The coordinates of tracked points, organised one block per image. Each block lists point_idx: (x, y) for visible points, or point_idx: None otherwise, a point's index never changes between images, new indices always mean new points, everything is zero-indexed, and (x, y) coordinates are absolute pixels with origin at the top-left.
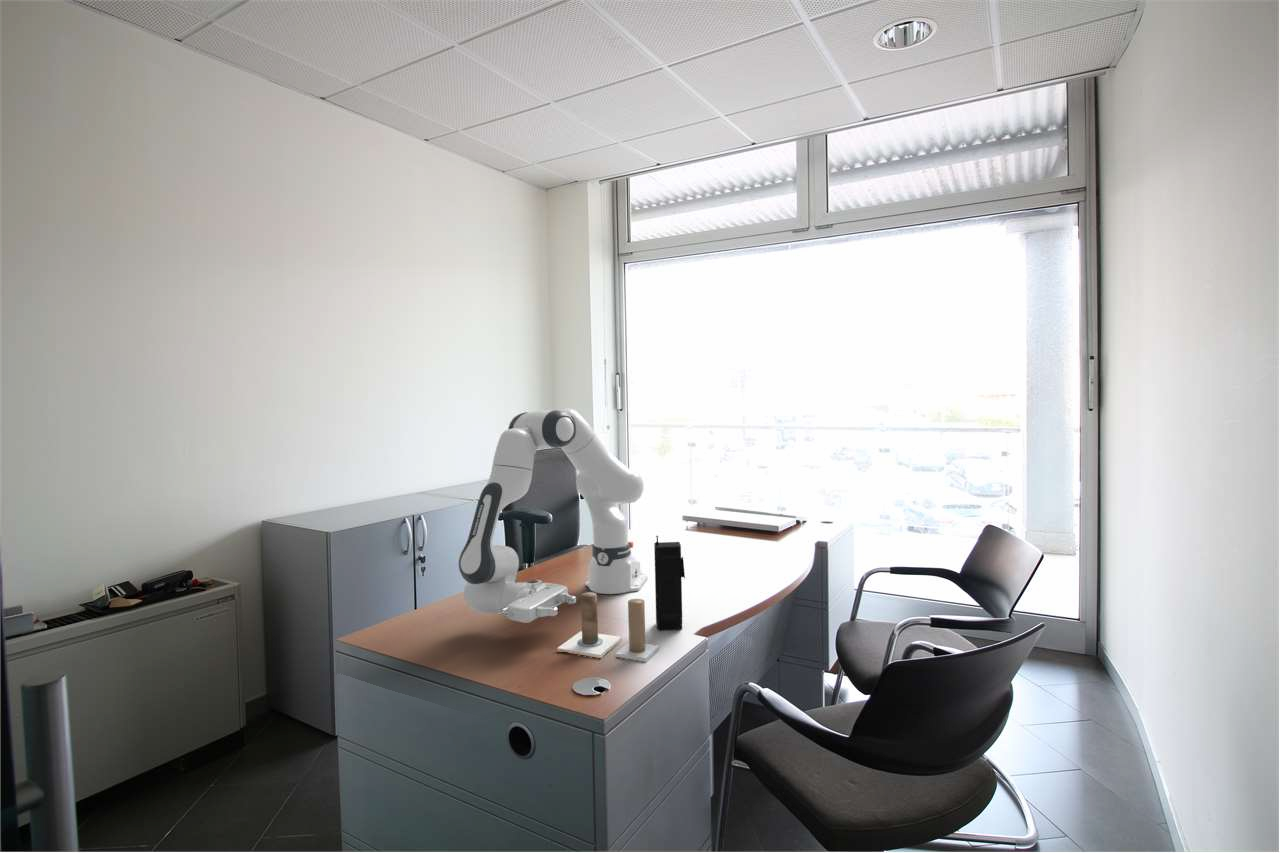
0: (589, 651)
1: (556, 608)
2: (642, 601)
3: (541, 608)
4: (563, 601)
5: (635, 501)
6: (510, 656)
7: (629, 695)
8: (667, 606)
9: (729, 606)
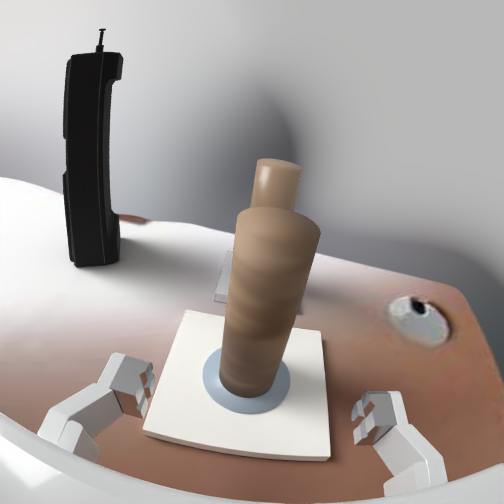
0: (313, 359)
1: (374, 391)
2: (275, 160)
3: (435, 454)
4: (98, 450)
5: None
6: None
7: (404, 274)
8: (107, 204)
9: (37, 201)
